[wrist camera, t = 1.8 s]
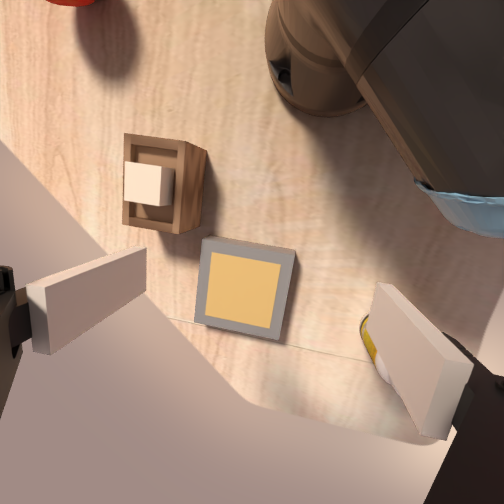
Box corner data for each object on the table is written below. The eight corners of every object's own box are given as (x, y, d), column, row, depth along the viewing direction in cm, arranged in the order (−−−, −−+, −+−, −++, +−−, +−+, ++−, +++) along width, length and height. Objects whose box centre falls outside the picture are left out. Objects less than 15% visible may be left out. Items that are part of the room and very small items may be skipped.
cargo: (141, 163, 30) (124, 161, 27) (174, 168, 30) (161, 166, 27) (139, 199, 31) (124, 200, 28) (172, 204, 30) (159, 206, 28)
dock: (209, 235, 37) (201, 239, 34) (294, 249, 35) (295, 255, 32) (201, 312, 40) (193, 322, 37) (280, 329, 38) (278, 340, 35)
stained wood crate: (156, 143, 35) (123, 133, 28) (206, 150, 34) (185, 141, 28) (153, 218, 38) (122, 224, 31) (199, 226, 37) (178, 234, 30)
